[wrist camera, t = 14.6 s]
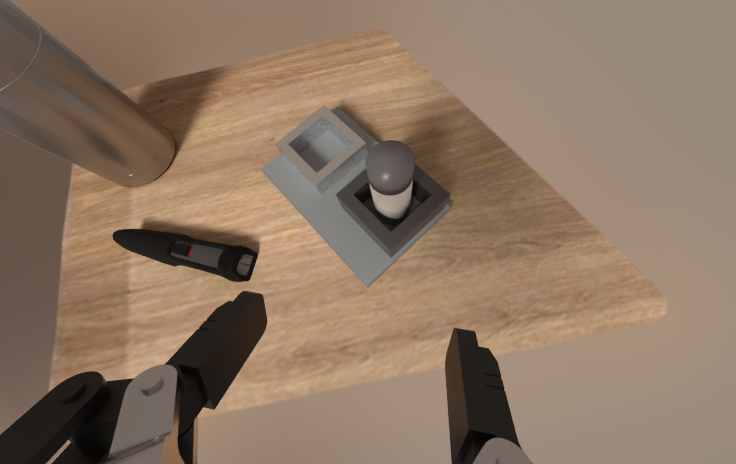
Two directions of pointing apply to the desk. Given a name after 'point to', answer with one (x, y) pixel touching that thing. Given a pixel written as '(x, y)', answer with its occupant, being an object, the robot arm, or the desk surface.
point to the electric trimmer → (190, 252)
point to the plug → (391, 180)
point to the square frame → (309, 134)
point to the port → (394, 241)
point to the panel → (327, 209)
